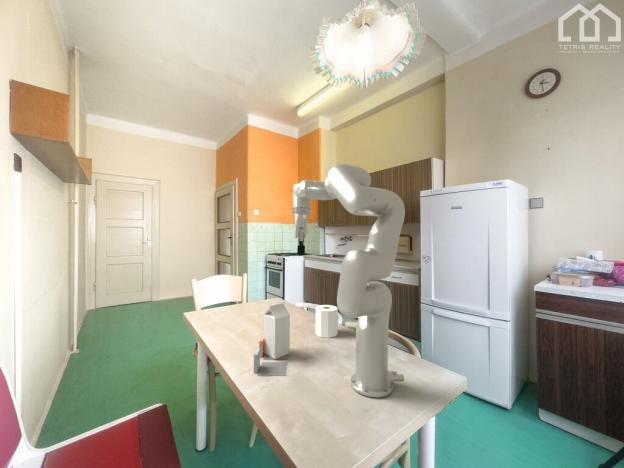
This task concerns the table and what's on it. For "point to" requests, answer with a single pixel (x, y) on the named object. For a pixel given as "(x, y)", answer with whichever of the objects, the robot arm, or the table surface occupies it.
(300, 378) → the table surface
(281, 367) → the tag station
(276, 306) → the milk carton
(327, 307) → the toilet paper
